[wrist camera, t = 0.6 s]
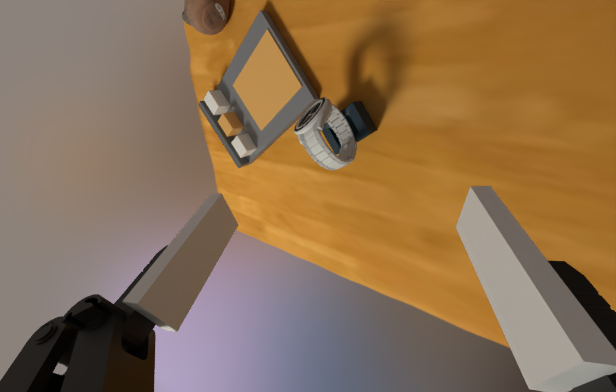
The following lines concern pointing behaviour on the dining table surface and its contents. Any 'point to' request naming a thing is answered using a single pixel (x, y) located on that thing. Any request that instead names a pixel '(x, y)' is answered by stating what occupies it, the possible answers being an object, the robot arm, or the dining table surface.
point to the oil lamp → (206, 15)
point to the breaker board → (258, 94)
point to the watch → (333, 132)
